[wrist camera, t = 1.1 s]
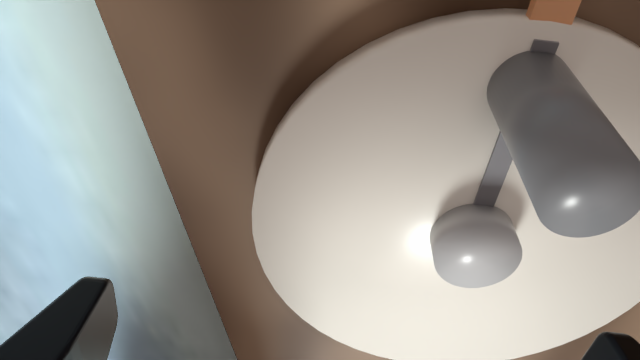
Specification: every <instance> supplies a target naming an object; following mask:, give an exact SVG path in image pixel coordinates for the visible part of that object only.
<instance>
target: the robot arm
mask: <svg viewBox="0 0 640 360" xmlns="http://www.w3.org/2000/svg"><path fill="white" fill-rule="evenodd" d="M117 319H118V312H117V305H116V299H115V293H114V287H113V283H112V281H111V280H110V279H107V278H97V277H84V278H81V279H80V280H78V281H77V282H76V283H75V284H74V285H72V286H71V287H70V288H69V289H68V290H66V291H65V292H64V293H63V294H62V295H60V296H59V297H58V298H57V299H56V300H54V301H53V302H52V303H51V304H50V305H48V306H47V307H46V308H45V309H44V310H42V311H41V312H40V313H39V314H38V315H36V316H35V317H34V318H33V319H32V320H30V321H29V322H28V323H27V324H26V325H24V326H23V327H22V328H21V329H20V330H18V331H17V332H16V333H15V334H14V335H12V336H11V337H10V338H9V339H8V340H6V341H5V342H4V343H3V344H2V345H0V360H107V358H108V355H109V351H110V348H111V344H112V341H113V337H114V334H115V330H116V326H117ZM581 360H640V343H639V342H637V341H636V340H635V339H634V338H633V337H631V336H630V335H628V334H624V333H616V332H602V333H600V334H599V335H598V336H597V337H596V339H595V340H594V341H593V343H592V344H591V346H590V347H589V349H588V350H587V351H586V353H585V354H584V356H583V357H582V359H581Z"/></svg>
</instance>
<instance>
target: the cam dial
mask: <svg viewBox="0 0 640 360" xmlns="http://www.w3.org/2000/svg"><path fill="white" fill-rule="evenodd" d="M581 1H582V0H531V1H530V4H529V7H528V9H511V8H502V9H487V10H473V11H465V12H460V13H455V14H450V15H445V16H440V17H435V18H431V19H428V20H425V21H422V22H419V23H415V24H412V25H409V26H406V27H403V28H400V29H397V30H395V31H393V32H391V33H389V34H387V35H384V36H382V37H380V38H378V39H376V40H374V41H371V42H369V43H367V44H365V45H364V46H362V47H361V48H359V49H357V50H356V51H354V52H353V53H351V54H349V55H348V56H346V57H344V58H343V59H341V60H340V61H338V62H337V63H336V64H334V65H333V66H332V67H331V68H329V69H328V70H327V71H326V72H325V73H323V74H322V75H321V76H320V77H318V78H317V79H316V80H315V81H313V82H312V84H311V85H310V86H309V87H308V88H307V89H306V90H305V91H304V92H303V93H302V94H301V95H300V96H299V97H298V98H297V100H296V101H295V102H294V103H293V104H292V105H291V107H290V108H289V110H288V111H287V112H286V114H285V115H284V117H283V118H282V120H281V121H280V122H279V124H278V125H277V127H276V129H275V131H274V133H273V135H272V137H271V139H270V141H269V143H268V145H267V147H266V149H265V152H264V155H263V159H262V162H261V165H260V168H259V171H258V176H257V181H256V186H255V191H254V199H253V206H252V233H253V238H254V243H255V247H256V252H257V255H258V258H259V260H260V263H261V265H262V268H263V270H264V273H265V274H266V276H267V278H268V279H269V281H270V283H271V284H272V286H273V288H274V289H275V291H276V292H277V293H278V294H279V296H280V297H281V298H282V299H283V300H284V302H285V303H286V304H287V305H288V306H289V307H290V308H291V309H292V310H293V311H294V312H295V313H296V314H297V315H298V316H300V317H301V318H302V319H303V320H304V321H306V322H307V323H309V324H310V325H311V326H313V327H314V328H316V329H317V330H318V331H320V332H322V333H324V334H325V335H327V336H329V337H331V338H332V339H334V340H336V341H338V342H340V343H343V344H345V345H347V346H350V347H352V348H354V349H357V350H360V351H363V352H366V353H369V354H372V355H375V356H379V357H383V358H388V359H392V360H510V359H515V358H519V357H523V356H527V355H531V354H535V353H539V352H542V351H545V350H548V349H551V348H554V347H557V346H560V345H563V344H566V343H568V342H570V341H573V340H575V339H577V338H580V337H582V336H585V335H587V334H589V333H591V332H592V331H594V330H596V329H598V328H600V327H602V326H604V325H606V324H608V323H609V322H611V321H612V320H614V319H616V318H617V317H619V316H620V315H622V314H623V313H625V312H627V311H628V310H630V309H631V308H632V307H633V306H635V305H636V304H637V303H639V302H640V47H639V46H638V45H637V44H635V43H634V42H632V41H630V40H628V39H627V38H625V37H623V36H621V35H619V34H617V33H616V32H614V31H612V30H610V29H608V28H606V27H603V26H600V25H597V24H594V23H592V22H589V21H586V20H583V19H580V18H578V17H575V16H576V13H577V11H578V8H579V6H580V3H581Z"/></svg>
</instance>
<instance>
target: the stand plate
mask: <svg viewBox="0 0 640 360" xmlns="http://www.w3.org/2000/svg"><path fill="white" fill-rule="evenodd" d="M530 1H531V0H95V2H96V5H97V7H98V10H99V12H100V15H101V17H102V20H103V22H104V25H105V27H106V30H107V33H108V35H109V38H110V40H111V43H112V45H113V48H114V50H115V53H116V55H117V58H118V60H119V63H120V65H121V68H122V70H123V73H124V75H125V78H126V80H127V83H128V85H129V88H130V90H131V93H132V95H133V98H134V101H135V103H136V106H137V108H138V111H139V113H140V116H141V118H142V121H143V123H144V126H145V128H146V131H147V133H148V136H149V138H150V141H151V143H152V146H153V148H154V151H155V153H156V156H157V158H158V161H159V163H160V166H161V168H162V171H163V174H164V176H165V179H166V181H167V184H168V186H169V189H170V191H171V194H172V196H173V199H174V201H175V204H176V206H177V209H178V211H179V214H180V216H181V219H182V221H183V224H184V226H185V229H186V231H187V234H188V236H189V239H190V241H191V244H192V247H193V249H194V252H195V254H196V257H197V259H198V262H199V264H200V267H201V269H202V272H203V274H204V277H205V279H206V282H207V284H208V287H209V289H210V292H211V294H212V297H213V299H214V302H215V304H216V307H217V309H218V312H219V314H220V317H221V320H222V322H223V325H224V327H225V330H226V332H227V335H228V337H229V340H230V342H231V345H232V347H233V350H234V352H235V355H236V357H237V360H392V359H388V358H383V357H379V356H375V355H372V354H369V353H366V352H363V351H360V350H357V349H354V348H352V347H350V346H347V345H345V344H343V343H340V342H338V341H336V340H334V339H332V338H331V337H329V336H327V335H325V334H324V333H322V332H320V331H318V330H317V329H316V328H314V327H313V326H311V325H310V324H309V323H307V322H306V321H304V320H303V319H302V318H301V317H300V316H298V315H297V314H296V313H295V312H294V311H293V310H292V309H291V308H290V307H289V306H288V305H287V304H286V303H285V302H284V300H283V299H282V298H281V297H280V296H279V294H278V293H277V292H276V291H275V289H274V288H273V286H272V284H271V283H270V281H269V279H268V278H267V276H266V274H265V273H264V270H263V268H262V265H261V263H260V260H259V258H258V255H257V252H256V247H255V243H254V238H253V233H252V206H253V199H254V191H255V186H256V181H257V176H258V171H259V168H260V165H261V162H262V159H263V155H264V152H265V149H266V147H267V145H268V143H269V141H270V139H271V137H272V135H273V133H274V131H275V129H276V127H277V125H278V124H279V122H280V121H281V120H282V118H283V117H284V115H285V114H286V112H287V111H288V110H289V108H290V107H291V105H292V104H293V103H294V102H295V101H296V100H297V98H298V97H299V96H300V95H301V94H302V93H303V92H304V91H305V90H306V89H307V88H308V87H309V86H310V85H311V84H312V82H313V81H315V80H316V79H317V78H318V77H320V76H321V75H322V74H323V73H325V72H326V71H327V70H328V69H329V68H331V67H332V66H333V65H334V64H336V63H337V62H338V61H340V60H341V59H343V58H344V57H346V56H348V55H349V54H351V53H353V52H354V51H356V50H357V49H359V48H361V47H362V46H364V45H365V44H367V43H369V42H371V41H374V40H376V39H378V38H380V37H382V36H384V35H387V34H389V33H391V32H393V31H395V30H397V29H400V28H403V27H406V26H409V25H412V24H415V23H419V22H422V21H425V20H428V19H431V18H435V17H440V16H445V15H450V14H455V13H460V12H465V11H473V10H487V9H502V8H511V9H528V7H529V4H530ZM575 17H578V18H580V19H583V20H586V21H589V22H592V23H594V24H597V25H600V26H603V27H606V28H608V29H610V30H612V31H614V32H616V33H617V34H619V35H621V36H623V37H625V38H627V39H628V40H630V41H632V42H634V43H635V44H637V45H638V46H639V47H640V0H582V1H581V3H580V6H579V8H578V11H577V13H576V16H575ZM602 332H616V333H624V334H628V335H630V336H631V337H633V338H634V339H635V340H636V341H637V342H639V343H640V302H639V303H637V304H636V305H635V306H633V307H632V308H631V309H630V310H628V311H627V312H625V313H623V314H622V315H620V316H619V317H617V318H616V319H614V320H612V321H611V322H609V323H608V324H606V325H604V326H602V327H600V328H598V329H596V330H594V331H592V332H591V333H589V334H587V335H585V336H582V337H580V338H577V339H575V340H573V341H570V342H568V343H566V344H563V345H560V346H557V347H554V348H551V349H548V350H545V351H542V352H539V353H535V354H531V355H527V356H523V357H519V358H515V359H510V360H581V359H582V357H583V356H584V354H585V353H586V351H587V350H588V349H589V347H590V346H591V344H592V343H593V341H594V340H595V339H596V337H597V336H598V335H599V334H600V333H602Z"/></svg>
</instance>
